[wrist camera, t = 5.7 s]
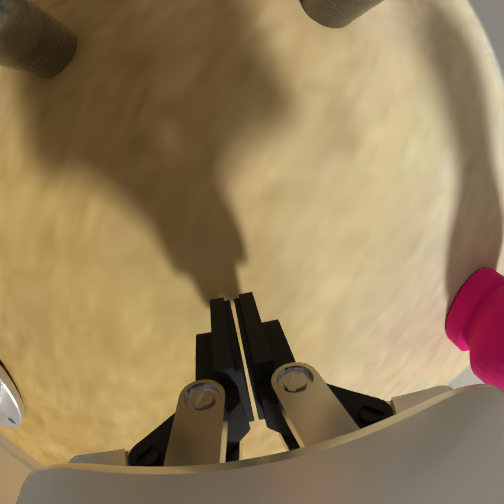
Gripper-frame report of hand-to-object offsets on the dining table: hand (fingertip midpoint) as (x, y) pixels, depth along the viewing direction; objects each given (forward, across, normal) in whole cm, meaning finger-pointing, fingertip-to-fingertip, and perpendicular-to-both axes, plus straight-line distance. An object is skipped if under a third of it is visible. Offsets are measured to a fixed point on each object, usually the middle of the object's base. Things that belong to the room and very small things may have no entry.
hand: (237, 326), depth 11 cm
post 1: (+2, +6, -13) cm, 14 cm away
